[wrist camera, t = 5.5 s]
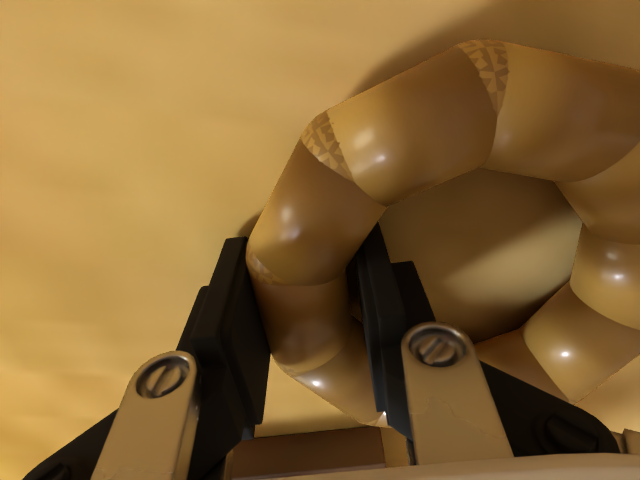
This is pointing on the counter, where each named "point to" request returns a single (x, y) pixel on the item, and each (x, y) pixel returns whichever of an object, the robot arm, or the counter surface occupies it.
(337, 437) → the peg
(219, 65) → the counter surface
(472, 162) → the ring
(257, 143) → the counter surface
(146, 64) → the counter surface
